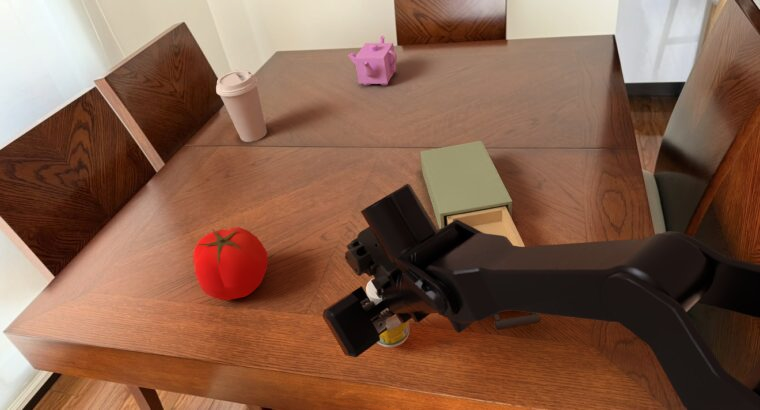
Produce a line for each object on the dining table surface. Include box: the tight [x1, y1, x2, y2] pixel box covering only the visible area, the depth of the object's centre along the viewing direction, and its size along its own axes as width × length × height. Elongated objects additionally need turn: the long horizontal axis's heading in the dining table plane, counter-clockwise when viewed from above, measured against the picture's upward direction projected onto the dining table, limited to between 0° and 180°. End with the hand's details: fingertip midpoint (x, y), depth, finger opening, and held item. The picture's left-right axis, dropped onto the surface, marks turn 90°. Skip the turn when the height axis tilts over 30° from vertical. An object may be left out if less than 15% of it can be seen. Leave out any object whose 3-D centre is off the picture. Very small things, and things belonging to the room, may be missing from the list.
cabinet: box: [419, 140, 513, 229], centre depth 92 cm, size 19×12×5 cm, turn 6°
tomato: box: [192, 226, 269, 301], centre depth 80 cm, size 12×12×11 cm
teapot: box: [347, 35, 398, 87], centre depth 133 cm, size 18×13×10 cm
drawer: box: [447, 206, 541, 331], centre depth 76 cm, size 22×11×4 cm, turn 6°
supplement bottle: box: [365, 277, 411, 348], centre depth 67 cm, size 5×5×10 cm
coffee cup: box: [215, 69, 268, 143], centre depth 118 cm, size 10×10×15 cm
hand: (378, 296), depth 67 cm, fingers closed on supplement bottle, 5 cm apart
